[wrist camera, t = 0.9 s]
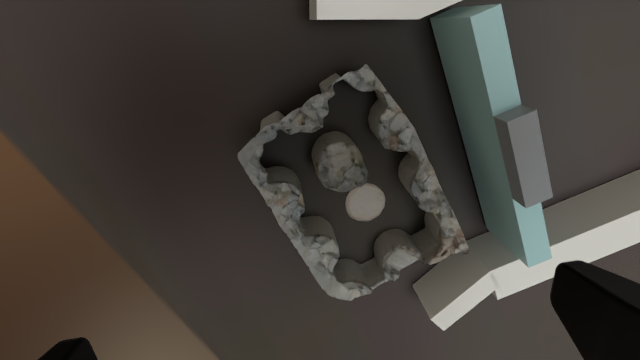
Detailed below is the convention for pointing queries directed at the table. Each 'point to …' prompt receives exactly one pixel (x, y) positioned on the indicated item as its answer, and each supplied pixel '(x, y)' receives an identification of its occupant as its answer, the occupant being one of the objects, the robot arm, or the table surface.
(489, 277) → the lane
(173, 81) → the table surface
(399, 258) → the egg carton
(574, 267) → the robot arm
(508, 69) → the bar
